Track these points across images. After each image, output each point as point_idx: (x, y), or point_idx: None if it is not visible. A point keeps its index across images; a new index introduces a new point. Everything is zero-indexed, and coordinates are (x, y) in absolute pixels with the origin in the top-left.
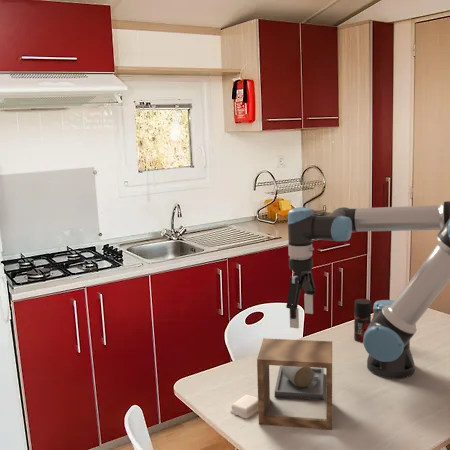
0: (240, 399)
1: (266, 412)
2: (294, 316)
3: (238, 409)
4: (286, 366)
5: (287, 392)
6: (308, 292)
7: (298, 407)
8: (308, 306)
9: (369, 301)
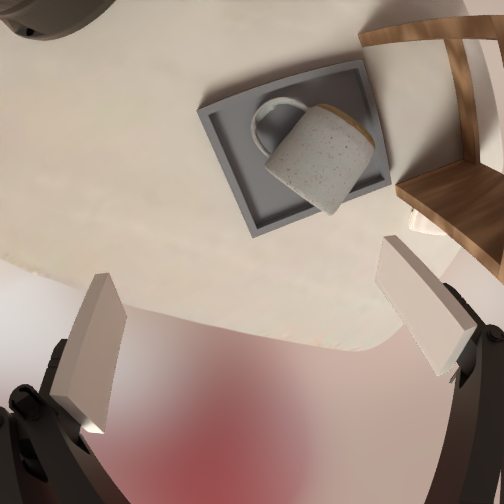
0: (441, 231)
1: (445, 168)
2: (459, 295)
3: None
4: (345, 197)
5: (385, 152)
6: (69, 432)
7: (406, 109)
8: (106, 332)
9: None
